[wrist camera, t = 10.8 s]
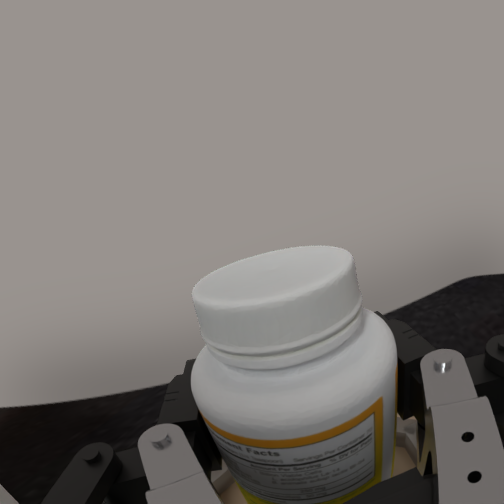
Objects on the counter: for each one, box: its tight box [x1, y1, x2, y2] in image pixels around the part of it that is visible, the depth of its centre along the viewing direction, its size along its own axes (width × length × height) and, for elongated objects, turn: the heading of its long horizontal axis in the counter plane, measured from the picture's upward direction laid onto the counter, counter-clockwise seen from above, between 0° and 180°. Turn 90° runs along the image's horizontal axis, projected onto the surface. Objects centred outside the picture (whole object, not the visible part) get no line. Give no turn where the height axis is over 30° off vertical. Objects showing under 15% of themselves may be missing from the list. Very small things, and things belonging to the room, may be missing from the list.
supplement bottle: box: [191, 246, 398, 504], centre depth 9 cm, size 6×6×10 cm
